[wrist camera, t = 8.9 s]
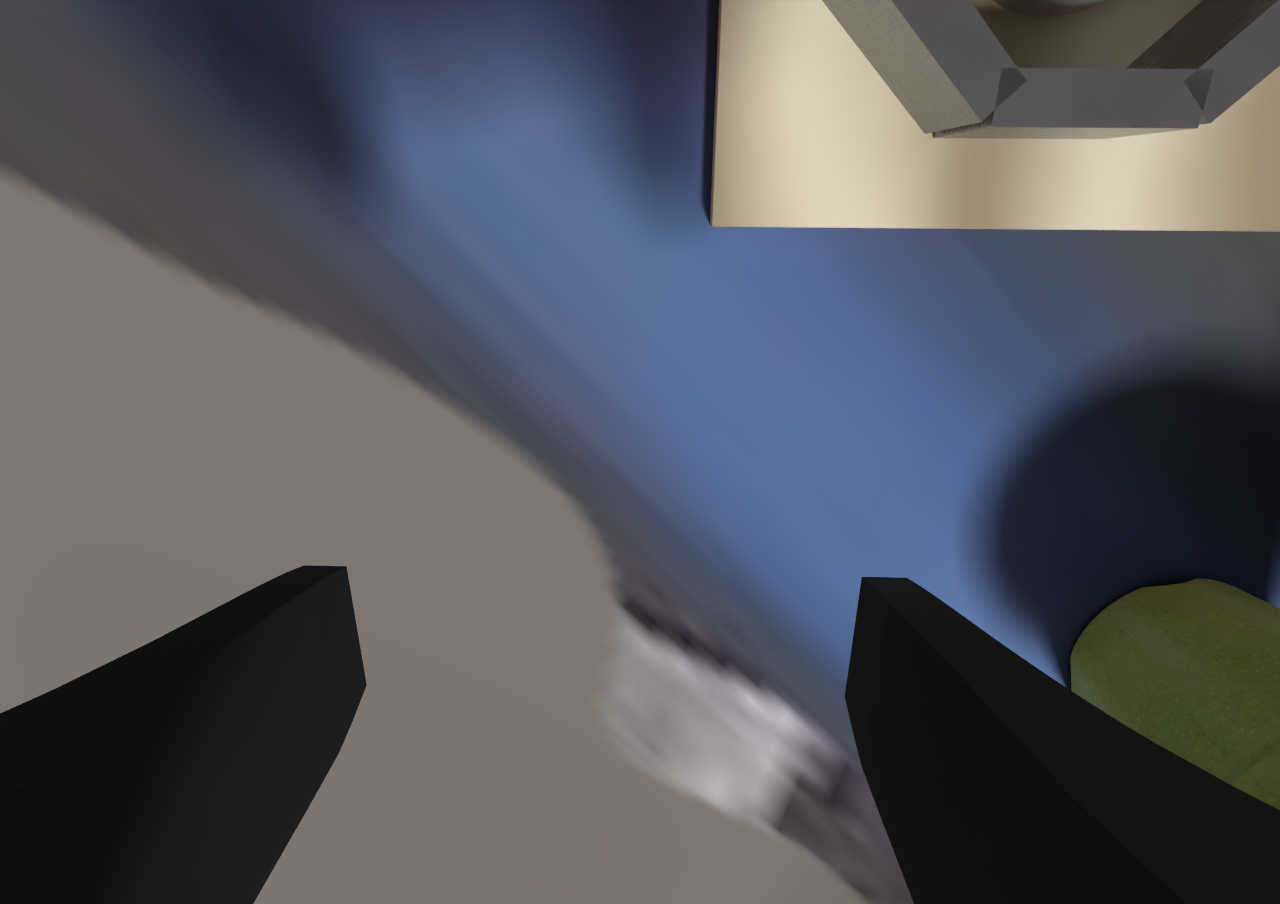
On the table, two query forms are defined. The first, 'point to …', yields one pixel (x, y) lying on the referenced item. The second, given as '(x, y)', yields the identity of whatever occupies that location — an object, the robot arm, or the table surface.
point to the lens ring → (1060, 71)
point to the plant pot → (1192, 677)
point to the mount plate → (968, 167)
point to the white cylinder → (1047, 6)
